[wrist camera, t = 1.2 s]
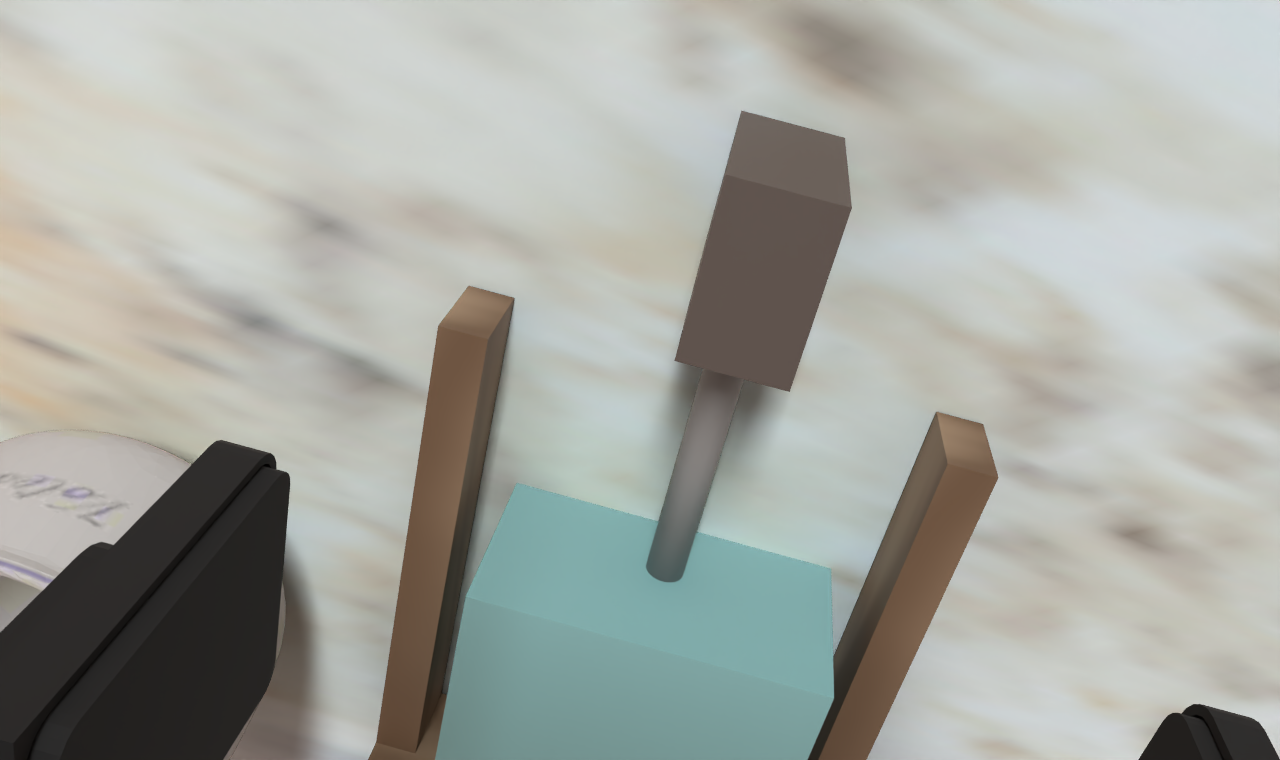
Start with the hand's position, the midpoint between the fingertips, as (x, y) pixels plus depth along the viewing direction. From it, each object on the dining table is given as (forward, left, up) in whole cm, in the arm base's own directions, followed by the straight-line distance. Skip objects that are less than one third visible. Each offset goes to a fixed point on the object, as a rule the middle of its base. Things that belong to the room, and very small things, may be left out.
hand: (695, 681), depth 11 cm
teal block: (0, +7, -16) cm, 17 cm away
